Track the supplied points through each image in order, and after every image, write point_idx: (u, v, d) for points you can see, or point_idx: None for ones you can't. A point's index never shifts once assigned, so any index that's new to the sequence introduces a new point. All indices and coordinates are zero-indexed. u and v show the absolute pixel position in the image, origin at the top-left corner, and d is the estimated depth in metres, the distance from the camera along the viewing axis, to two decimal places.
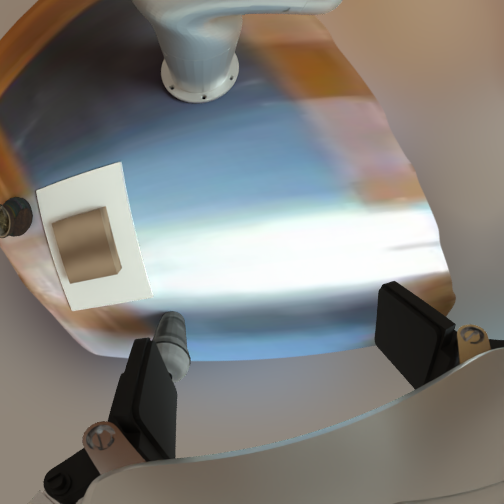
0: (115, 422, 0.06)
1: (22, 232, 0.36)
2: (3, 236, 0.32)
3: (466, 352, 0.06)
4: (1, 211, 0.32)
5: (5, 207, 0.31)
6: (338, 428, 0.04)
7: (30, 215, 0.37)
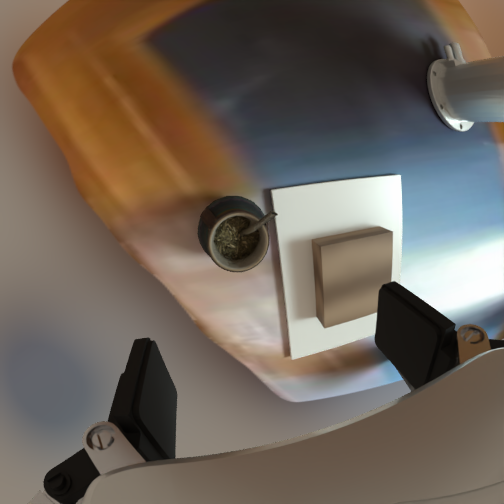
0: (115, 422, 0.06)
1: None
2: (241, 269, 0.25)
3: (466, 352, 0.06)
4: (225, 220, 0.25)
5: None
6: (338, 428, 0.04)
7: None
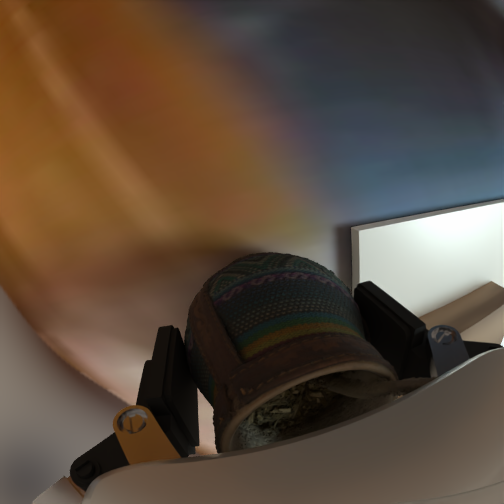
0: (143, 407, 0.07)
1: None
2: None
3: (440, 354, 0.06)
4: None
5: None
6: (338, 428, 0.04)
7: None
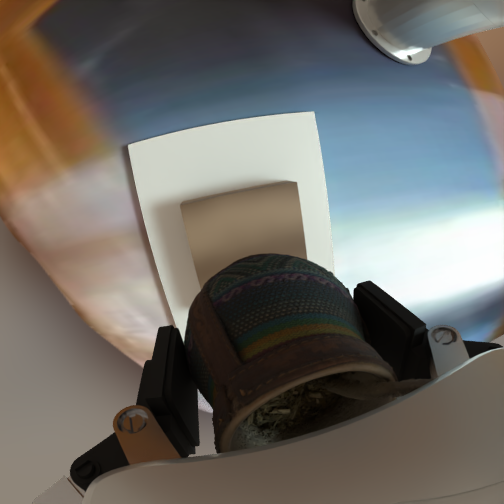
0: (143, 407, 0.07)
1: None
2: None
3: (440, 354, 0.06)
4: None
5: (376, 358, 0.06)
6: (338, 428, 0.04)
7: None
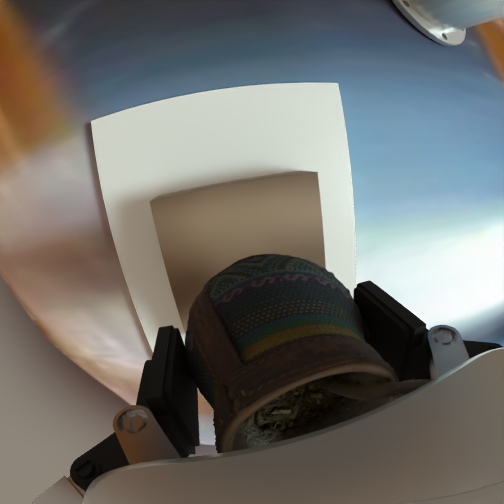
0: (143, 407, 0.07)
1: None
2: None
3: (440, 354, 0.06)
4: None
5: (377, 358, 0.06)
6: (338, 428, 0.04)
7: None
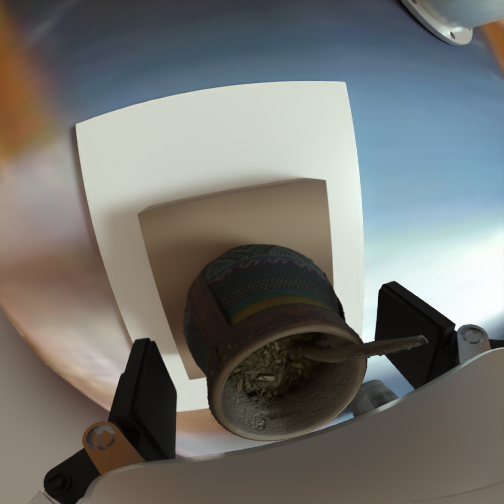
0: (115, 422, 0.06)
1: None
2: (294, 434, 0.09)
3: (466, 352, 0.06)
4: None
5: None
6: (338, 428, 0.04)
7: None
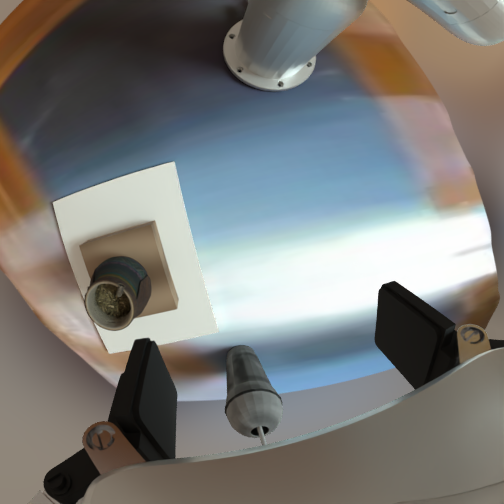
0: (115, 422, 0.06)
1: (140, 313, 0.29)
2: (116, 328, 0.25)
3: (466, 352, 0.06)
4: (101, 285, 0.25)
5: (118, 282, 0.24)
6: (338, 428, 0.04)
7: (150, 285, 0.30)
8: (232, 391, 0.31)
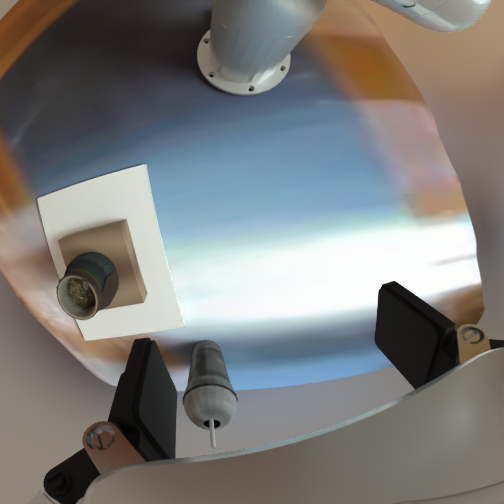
0: (115, 422, 0.06)
1: (108, 305, 0.30)
2: (83, 318, 0.26)
3: (466, 352, 0.06)
4: (72, 278, 0.26)
5: (84, 277, 0.25)
6: (338, 428, 0.04)
7: (118, 279, 0.31)
8: (190, 383, 0.32)
